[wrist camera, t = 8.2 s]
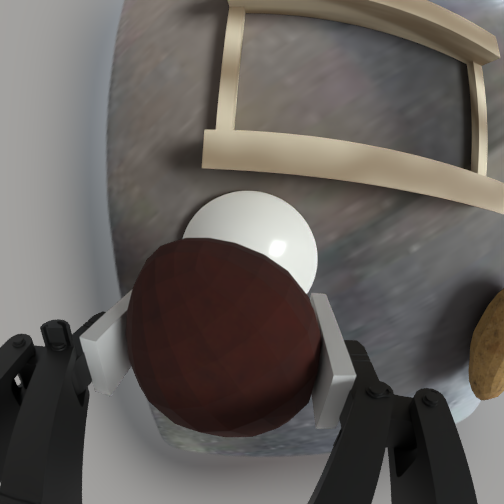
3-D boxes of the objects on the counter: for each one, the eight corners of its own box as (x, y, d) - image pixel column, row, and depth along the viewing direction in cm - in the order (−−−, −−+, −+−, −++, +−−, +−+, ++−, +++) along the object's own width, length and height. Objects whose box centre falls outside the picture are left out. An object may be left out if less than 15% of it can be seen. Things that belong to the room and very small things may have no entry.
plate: (184, 186, 22) (181, 187, 21) (323, 197, 21) (325, 198, 21) (184, 310, 25) (181, 314, 24) (306, 323, 24) (306, 328, 24)
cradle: (234, -6, 17) (226, -34, 12) (471, 48, 15) (495, 36, 11) (216, 169, 21) (201, 168, 17) (475, 206, 20) (504, 214, 16)
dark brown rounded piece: (265, 189, 13) (252, 209, 6) (335, 343, 15) (364, 452, 8) (131, 258, 15) (38, 323, 7) (212, 384, 17) (183, 484, 9)
